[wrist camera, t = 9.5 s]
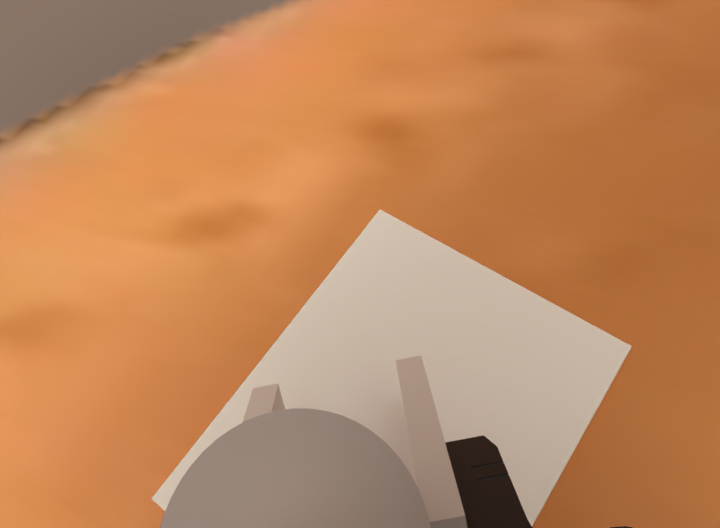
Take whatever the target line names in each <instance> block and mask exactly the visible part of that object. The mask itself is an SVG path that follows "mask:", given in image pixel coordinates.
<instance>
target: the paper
mask: <svg viewBox="0 0 720 528" xmlns="http://www.w3.org/2000/svg"><path fill="white" fill-rule="evenodd" d="M631 347H632V346H631V345H629V344H627V343H625V342H623V341H621V340H619V339H618V338H616V337H614V336H612V335H610V334H608V333H607V332H605V331H603V330H601V329H599V328H597V327H596V326H594V325H592V324H590V323H588V322H586V321H585V320H583V319H581V318H579V317H577V316H575V315H573V314H572V313H570V312H568V311H566V310H564V309H562V308H561V307H559V306H557V305H555V304H553V303H551V302H550V301H548V300H546V299H544V298H542V297H540V296H539V295H537V294H535V293H533V292H531V291H529V290H528V289H526V288H524V287H522V286H520V285H518V284H516V283H515V282H513V281H511V280H509V279H507V278H505V277H504V276H502V275H500V274H498V273H496V272H494V271H493V270H491V269H489V268H487V267H485V266H483V265H482V264H480V263H478V262H476V261H474V260H472V259H470V258H469V257H467V256H465V255H463V254H461V253H459V252H458V251H456V250H454V249H452V248H450V247H448V246H447V245H445V244H443V243H441V242H439V241H437V240H436V239H434V238H432V237H430V236H428V235H426V234H424V233H423V232H421V231H419V230H417V229H415V228H413V227H412V226H410V225H408V224H406V223H404V222H402V221H401V220H399V219H397V218H395V217H393V216H391V215H390V214H388V213H386V212H384V211H382V210H379V211H378V212H377V214H376V215H375V216H374V217H373V219H372V220H371V221H370V223H369V224H368V225H367V226H366V228H365V229H364V230H363V231H362V233H361V234H360V235H359V236H358V238H357V239H356V240H355V242H354V243H353V244H352V245H351V247H350V248H349V249H348V250H347V252H346V253H345V254H344V255H343V257H342V258H341V259H340V261H339V262H338V263H337V264H336V266H335V267H334V268H333V269H332V271H331V272H330V273H329V274H328V276H327V277H326V278H325V280H324V281H323V282H322V283H321V285H320V286H319V287H318V288H317V290H316V291H315V292H314V293H313V295H312V296H311V297H310V299H309V300H308V301H307V302H306V304H305V305H304V306H303V307H302V309H301V310H300V311H299V312H298V314H297V315H296V316H295V318H294V319H293V320H292V321H291V323H290V324H289V325H288V326H287V328H286V329H285V330H284V331H283V333H282V334H281V335H280V337H279V338H278V339H277V340H276V342H275V343H274V344H273V345H272V347H271V348H270V349H269V350H268V352H267V353H266V354H265V356H264V357H263V358H262V359H261V361H260V362H259V363H258V364H257V366H256V367H255V368H254V369H253V371H252V372H251V373H250V375H249V376H248V377H247V378H246V380H245V381H244V382H243V383H242V385H241V386H240V387H239V388H238V390H237V391H236V392H235V394H234V395H233V396H232V397H231V399H230V400H229V401H228V402H227V404H226V405H225V406H224V407H223V409H222V410H221V411H220V413H219V414H218V415H217V416H216V418H215V419H214V420H213V421H212V423H211V424H210V425H209V426H208V428H207V429H206V430H205V432H204V433H203V434H202V435H201V437H200V438H199V439H198V440H197V442H196V443H195V444H194V445H193V447H192V448H191V449H190V451H189V452H188V453H187V454H186V456H185V457H184V458H183V459H182V461H181V462H180V463H179V464H178V466H177V467H176V468H175V470H174V471H173V472H172V473H171V475H170V476H169V477H168V478H167V480H166V481H165V482H164V483H163V485H162V486H161V487H160V489H159V490H158V491H157V492H156V494H155V495H154V496H153V497H152V500H153V501H154V502H155V503H157V504H158V505H159V506H160V507H161V508H162V509H163V510H164V511H166V509H167V506H168V504H169V501H170V499H171V497H172V495H173V493H174V491H175V489H176V488H177V486H178V484H179V482H180V480H181V479H182V478H183V476H184V475H185V473H186V472H187V470H188V469H189V467H190V466H191V465H192V464H193V462H194V461H195V460H196V459H197V458H198V457H199V456H200V454H201V453H202V452H203V451H204V450H205V449H206V448H207V447H209V446H210V445H211V444H212V443H213V442H214V441H215V440H216V439H218V438H219V437H220V436H222V435H223V434H225V433H226V432H227V431H229V430H230V429H232V428H234V427H235V426H237V425H239V424H241V423H242V422H243V419H244V416H245V413H246V409H247V406H248V403H249V400H250V396H251V393H252V390H253V388H257V387H262V386H267V385H272V384H277V383H278V385H279V388H280V392H281V396H282V399H283V403H284V406H285V409H292V408H310V409H317V410H324V411H329V412H332V413H336V414H339V415H342V416H345V417H347V418H349V419H351V420H354V421H356V422H358V423H360V424H361V425H363V426H364V427H366V428H368V429H369V430H371V431H372V432H374V433H375V434H376V435H377V436H379V437H380V438H381V439H382V440H383V441H385V442H386V443H387V444H388V445H389V447H390V448H391V449H392V450H393V451H394V452H395V453H396V454H397V455H398V456H399V458H400V459H401V461H402V462H403V463H404V465H405V466H406V467H407V469H408V470H409V472H410V474H411V476H412V478H413V479H414V481H415V483H416V485H417V487H418V484H417V479H416V473H415V467H414V462H413V456H412V450H411V445H410V439H409V433H408V428H407V422H406V417H405V411H404V405H403V400H402V394H401V388H400V383H399V377H398V371H397V366H396V360H400V359H405V358H410V357H415V356H420V355H421V357H422V360H423V364H424V367H425V371H426V375H427V378H428V382H429V386H430V389H431V393H432V397H433V400H434V404H435V408H436V411H437V415H438V418H439V422H440V426H441V429H442V433H443V437H444V440H445V442H451V441H456V440H461V439H466V438H472V437H477V436H482V435H484V436H485V437H486V438H487V439H489V440H490V441H491V442H492V443H494V444H495V445H496V446H497V447H498V450H499V452H500V455H501V457H502V459H503V462H504V464H505V467H506V469H507V471H508V475H509V476H510V479H511V481H512V483H513V486H514V488H515V491H516V493H517V495H518V498H519V500H520V503H521V505H522V507H523V510H524V512H525V515H526V517H527V519H528V521H529V523H530V525H531V526H533V524H534V522H535V520H536V518H537V517H538V515H539V513H540V511H541V509H542V508H543V506H544V504H545V502H546V500H547V499H548V497H549V495H550V493H551V491H552V490H553V488H554V486H555V484H556V482H557V481H558V479H559V477H560V475H561V473H562V472H563V470H564V468H565V466H566V464H567V463H568V461H569V459H570V457H571V455H572V454H573V452H574V450H575V448H576V446H577V444H578V443H579V441H580V439H581V437H582V435H583V434H584V432H585V430H586V428H587V426H588V425H589V423H590V421H591V419H592V417H593V416H594V414H595V412H596V410H597V408H598V407H599V405H600V403H601V401H602V399H603V398H604V396H605V394H606V392H607V390H608V389H609V387H610V385H611V383H612V381H613V380H614V378H615V376H616V374H617V372H618V371H619V369H620V367H621V365H622V363H623V361H624V360H625V358H626V356H627V354H628V352H629V351H630V349H631Z"/></svg>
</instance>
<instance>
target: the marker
mask: <svg viewBox="0 0 720 528" xmlns="http://www.w3.org/2000/svg"><path fill="white" fill-rule="evenodd" d="M160 528H431V525H430V521H429V518H428V514H427V510H426V507H425V504H424V502H423V499H422V497H421V494H420V492H419V489H418V487H417V485H416V483H415V481H414V479H413V478H412V476H411V474H410V472H409V470H408V469H407V467H406V466H405V465H404V463H403V462H402V461H401V459H400V458H399V456H398V455H397V454H396V453H395V452H394V451H393V450H392V449H391V448H390V447H389V445H388V444H387V443H386V442H385V441H383V440H382V439H381V438H380V437H379V436H377V435H376V434H375V433H374V432H372V431H371V430H369V429H368V428H366V427H364V426H363V425H361V424H360V423H358V422H356V421H354V420H351V419H349V418H347V417H345V416H342V415H339V414H336V413H332V412H329V411H324V410H317V409H310V408H292V409H284V410H277V411H273V412H269V413H265V414H262V415H259V416H257V417H254V418H252V419H249V420H247V421H244V422H243V423H241V424H239V425H237V426H235V427H234V428H232V429H230V430H229V431H227V432H226V433H225V434H223V435H222V436H220V437H219V438H218V439H216V440H215V441H214V442H213V443H212V444H211V445H210V446H209V447H207V448H206V449H205V450H204V451H203V452H202V453H201V454H200V456H199V457H198V458H197V459H196V460H195V461H194V462H193V464H192V465H191V466H190V467H189V469H188V470H187V472H186V473H185V475H184V476H183V478H182V479H181V480H180V482H179V484H178V486H177V488H176V489H175V491H174V493H173V495H172V497H171V499H170V501H169V504H168V506H167V509H166V511H165V513H164V516H163V519H162V523H161V526H160Z"/></svg>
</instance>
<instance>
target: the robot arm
mask: <svg viewBox="0 0 720 528" xmlns="http://www.w3.org/2000/svg"><path fill="white" fill-rule="evenodd" d="M396 366H397V371H398V377H399V383H400V388H401V394H402V400H403V405H404V411H405V417H406V422H407V428H408V433H409V439H410V445H411V450H412V456H413V462H414V467H415V473H416V479H417V484H418V489H419V492H420V494H421V497H422V499H423V502H424V504H425V507H426V510H427V514H428V518H429V521H430V525H431V528H532V526H531V525H530V523H529V521H528V519H527V517H526V515H525V512H524V510H523V507H522V505H521V503H520V500H519V498H518V495H517V493H516V491H515V488H514V486H513V483H512V481H511V479H510V476H509V475H508V471H507V469H506V467H505V464H504V462H503V459H502V457H501V455H500V452H499V450H498V447H497V446H496V445H495V444H494V443H492V442H491V441H490V440H489V439H487V438H486V437H485V436H484V435H482V436H477V437H472V438H466V439H461V440H456V441H451V442H445V440H444V437H443V433H442V429H441V426H440V422H439V418H438V415H437V411H436V408H435V404H434V400H433V397H432V393H431V389H430V386H429V382H428V378H427V375H426V371H425V367H424V364H423V360H422V357H421V355H420V356H415V357H410V358H405V359H400V360H396ZM284 409H285V406H284V403H283V399H282V396H281V392H280V388H279V385H278V383H277V384H272V385H267V386H262V387H257V388H253V390H252V393H251V396H250V400H249V403H248V406H247V409H246V413H245V416H244V419H243V422H244V421H247V420H249V419H252V418H254V417H257V416H259V415H262V414H265V413H269V412H273V411H277V410H284ZM243 422H242V423H243ZM611 528H631V527H626V526H624V527H611Z"/></svg>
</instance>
